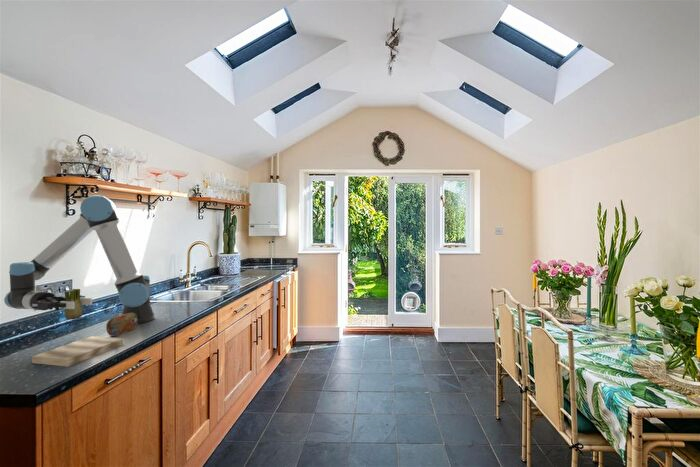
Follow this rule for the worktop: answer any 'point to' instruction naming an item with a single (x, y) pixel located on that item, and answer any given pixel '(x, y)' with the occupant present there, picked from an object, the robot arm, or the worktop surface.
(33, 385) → the worktop surface
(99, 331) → the worktop surface
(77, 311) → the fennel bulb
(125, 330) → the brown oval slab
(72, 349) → the board
